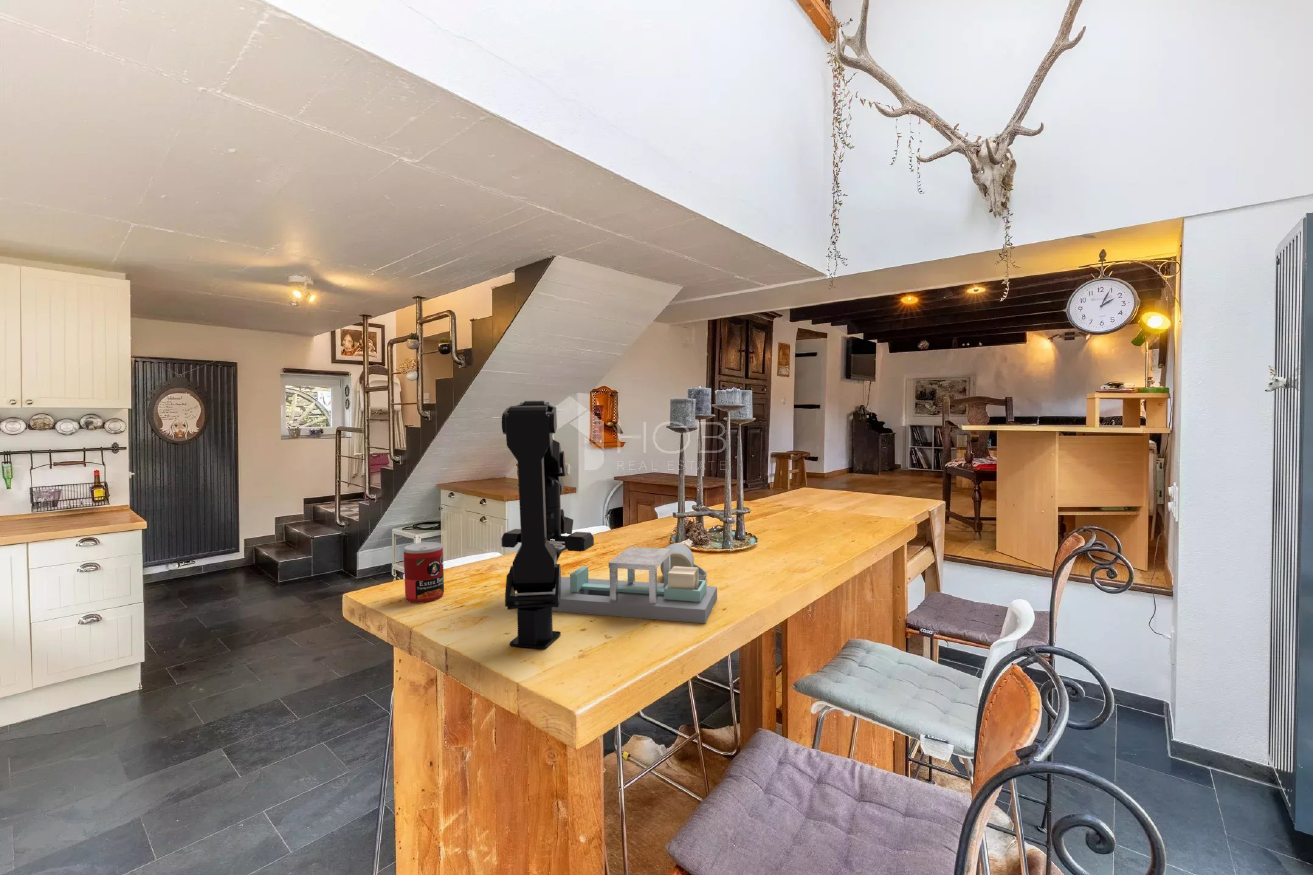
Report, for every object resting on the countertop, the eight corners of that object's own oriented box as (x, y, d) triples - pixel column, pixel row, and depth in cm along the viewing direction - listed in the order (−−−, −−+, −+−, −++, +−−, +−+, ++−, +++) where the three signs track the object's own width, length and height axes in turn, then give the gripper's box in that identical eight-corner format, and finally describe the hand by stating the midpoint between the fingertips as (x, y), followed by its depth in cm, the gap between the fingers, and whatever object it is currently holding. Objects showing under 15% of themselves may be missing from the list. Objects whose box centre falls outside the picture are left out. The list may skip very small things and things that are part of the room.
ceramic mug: (659, 584, 125) (659, 550, 124) (661, 574, 133) (661, 542, 132) (707, 585, 124) (707, 551, 124) (706, 575, 132) (706, 543, 132)
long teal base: (700, 601, 104) (699, 583, 104) (569, 592, 111) (568, 575, 111) (706, 590, 111) (706, 572, 111) (582, 582, 118) (582, 565, 118)
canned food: (418, 605, 113) (416, 552, 112) (397, 598, 118) (396, 546, 117) (452, 595, 119) (450, 544, 118) (431, 589, 124) (429, 540, 123)
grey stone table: (655, 604, 104) (654, 564, 103) (609, 601, 106) (608, 562, 106) (671, 584, 116) (670, 548, 116) (630, 581, 118) (629, 546, 118)
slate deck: (705, 623, 101) (705, 609, 101) (513, 607, 111) (513, 595, 111) (717, 598, 114) (716, 586, 114) (545, 586, 124) (545, 575, 124)
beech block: (693, 600, 106) (693, 574, 106) (668, 598, 107) (667, 572, 107) (698, 592, 111) (698, 567, 110) (674, 590, 112) (673, 566, 112)
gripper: (602, 501, 121) (604, 572, 122) (525, 499, 126) (527, 567, 127) (582, 510, 110) (583, 588, 111) (498, 507, 115) (500, 581, 116)
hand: (548, 580), depth 116 cm, fingers closed
